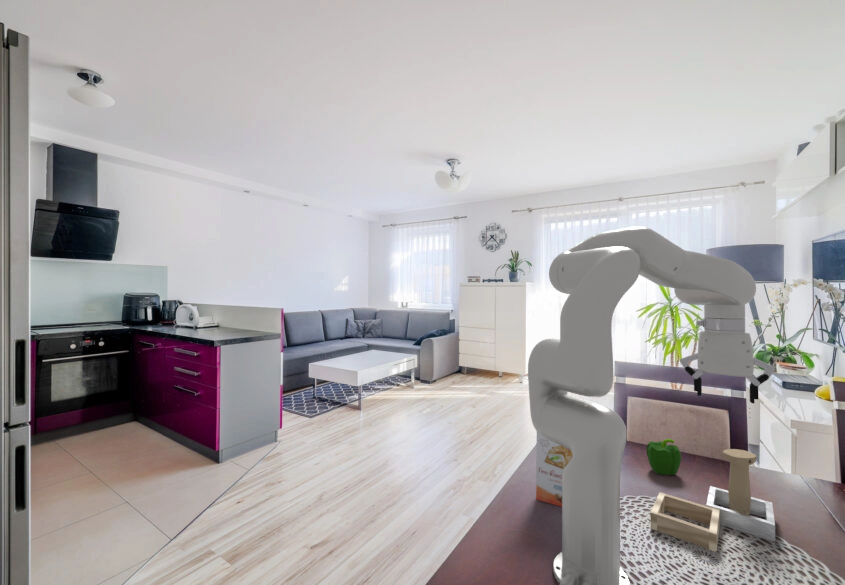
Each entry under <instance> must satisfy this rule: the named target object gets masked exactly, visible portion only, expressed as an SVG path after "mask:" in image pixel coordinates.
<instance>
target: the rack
mask: <svg viewBox="0 0 845 585" xmlns="http://www.w3.org/2000/svg"><path fill="white" fill-rule="evenodd" d="M665 512H668V513H671V514H674V515H677V516H681V517H684V518H687V519H689V520H692V521H696V522H698V523H703V524H705V525H707V526H709V528H706V527H704V526H700V525H698V524H695V523H692V522H690V521H689V522H688V521H686V520H683V519H679V518H677V517H674V516H670V515H669V514H666V513H665ZM720 528H721V527H720V510H718V509H715V508H711V507H708V506H706V504H705V505H704V504H701V503H697V502H695V501H690V500H688V499H684V498H681V497H677V496H674V495H671V494H667V493H665V492H661V491H659V492H658V495H657V497H656V499H655V501H654V503H653V506H652V509H651V510H650V530H651V529H652V530H653V531H657V532H659V533H662V534H665V535H668V536H671V537H674V538H676V539H678V540H682V541H683V542H684V541H685V542H688V543H689V544H694V545H695V546H699V547H701V548H704V549H707V550H710V551H712V552H715V553H717V552H718V544H719V536H720V535H719V534H720Z"/></svg>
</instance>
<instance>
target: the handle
mask: <svg viewBox="0 0 845 585" xmlns="http://www.w3.org/2000/svg"><path fill="white" fill-rule="evenodd" d="M721 451H722V450H721ZM721 453H722V458H723V459H725V460H727V461H728V462H729V478H728V479H729V480H728V496H729V497H728V498H729V506H730V507H729V509H730V510H734V511H737V512H740V513H744V514H747V515H750V507H751V497H752V494H751V483H750V482H751V481H750V466H751V465H753V464H755V463H756V462H757V459H758V458H757V456H758V455H756V454H755V453H754V452H753V453H752V452H750V451H748V450H744V449H737V448H730V449H729V448H726V449H724V450H723V451H722V452H721Z"/></svg>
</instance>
